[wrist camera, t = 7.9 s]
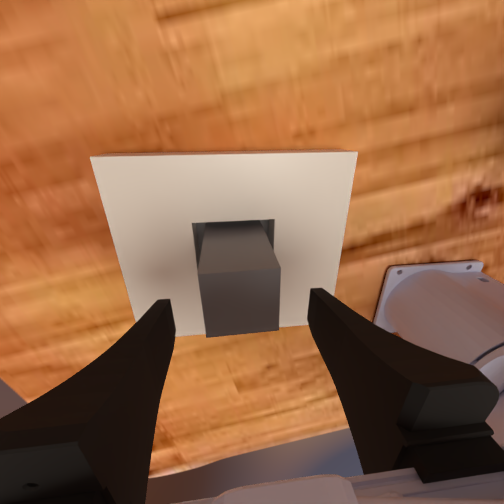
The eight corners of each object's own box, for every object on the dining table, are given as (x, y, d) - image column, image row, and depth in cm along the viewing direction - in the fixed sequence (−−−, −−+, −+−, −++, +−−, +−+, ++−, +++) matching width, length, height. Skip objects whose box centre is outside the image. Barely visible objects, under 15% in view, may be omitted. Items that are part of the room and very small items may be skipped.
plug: (258, 216, 19) (281, 268, 12) (258, 262, 21) (278, 330, 14) (206, 219, 19) (197, 274, 12) (211, 265, 21) (206, 337, 13)
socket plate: (340, 149, 18) (358, 151, 16) (319, 305, 24) (329, 322, 22) (107, 153, 16) (89, 157, 14) (148, 319, 22) (140, 339, 20)
